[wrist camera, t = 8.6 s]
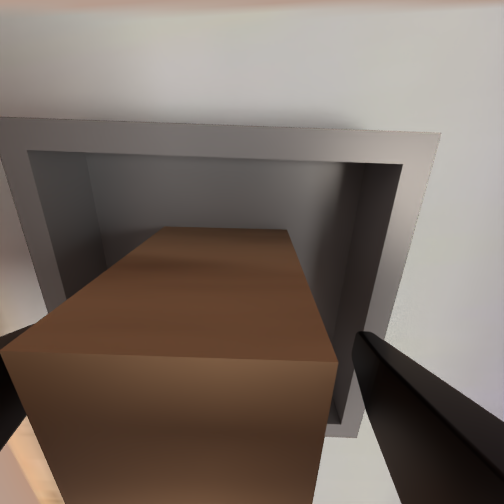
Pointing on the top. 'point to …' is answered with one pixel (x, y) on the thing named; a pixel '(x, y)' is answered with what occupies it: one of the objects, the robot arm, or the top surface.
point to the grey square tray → (227, 208)
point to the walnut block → (183, 375)
